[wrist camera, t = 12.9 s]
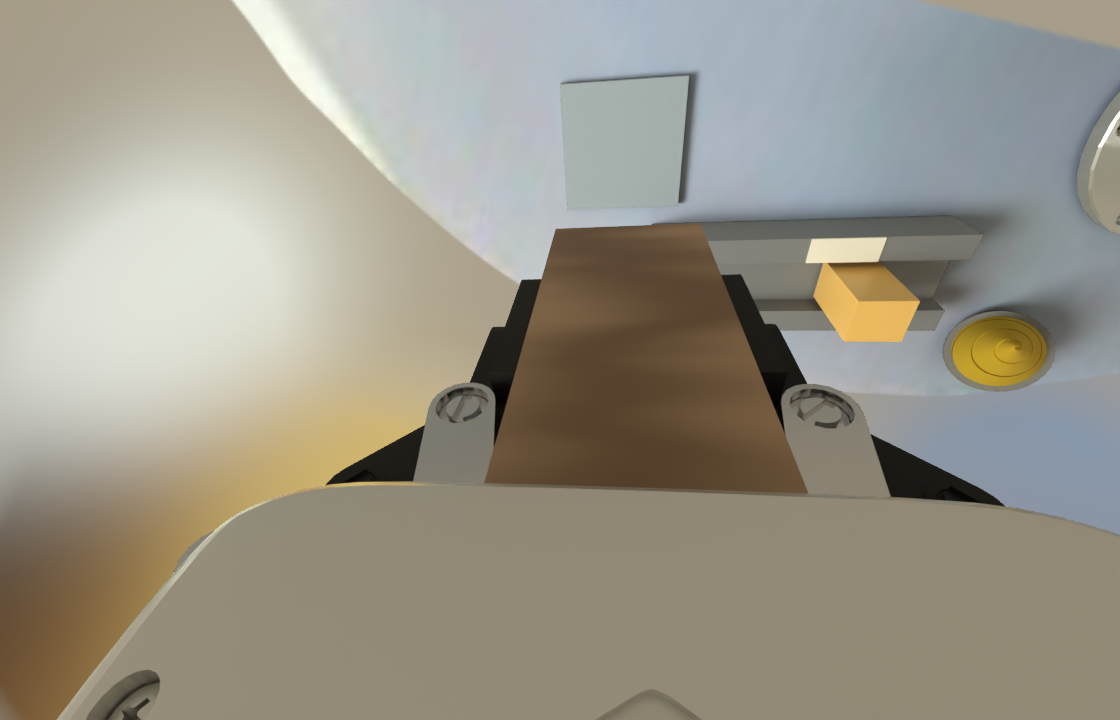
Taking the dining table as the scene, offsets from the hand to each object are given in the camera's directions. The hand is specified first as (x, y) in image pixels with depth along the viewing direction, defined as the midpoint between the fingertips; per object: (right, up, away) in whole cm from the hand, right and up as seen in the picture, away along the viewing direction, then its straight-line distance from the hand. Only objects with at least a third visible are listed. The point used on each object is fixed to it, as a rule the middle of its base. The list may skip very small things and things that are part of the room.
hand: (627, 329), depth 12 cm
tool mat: (+2, +12, +15) cm, 19 cm away
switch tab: (+16, +4, +17) cm, 24 cm away
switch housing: (+13, +6, +19) cm, 24 cm away
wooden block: (0, +1, +2) cm, 2 cm away
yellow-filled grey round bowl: (+27, +2, +20) cm, 34 cm away
